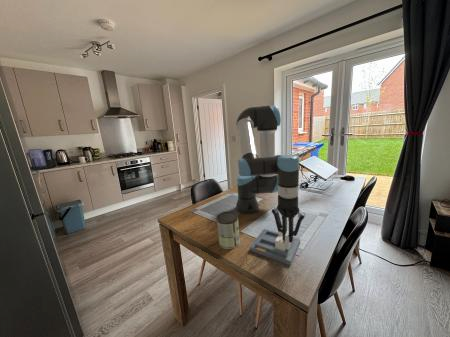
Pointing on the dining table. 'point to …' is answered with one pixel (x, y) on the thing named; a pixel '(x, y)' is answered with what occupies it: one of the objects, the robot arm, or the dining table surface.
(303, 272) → the dining table surface
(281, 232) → the tab
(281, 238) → the tab
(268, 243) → the switch board
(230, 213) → the coffee can
